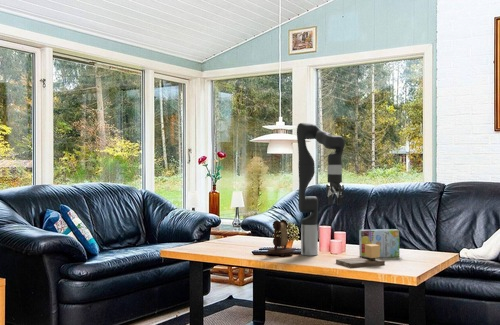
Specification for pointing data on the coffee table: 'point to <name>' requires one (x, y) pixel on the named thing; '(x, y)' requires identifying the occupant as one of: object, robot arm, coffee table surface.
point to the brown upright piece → (280, 239)
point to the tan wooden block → (372, 250)
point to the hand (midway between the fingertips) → (334, 204)
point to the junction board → (360, 262)
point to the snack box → (380, 241)
